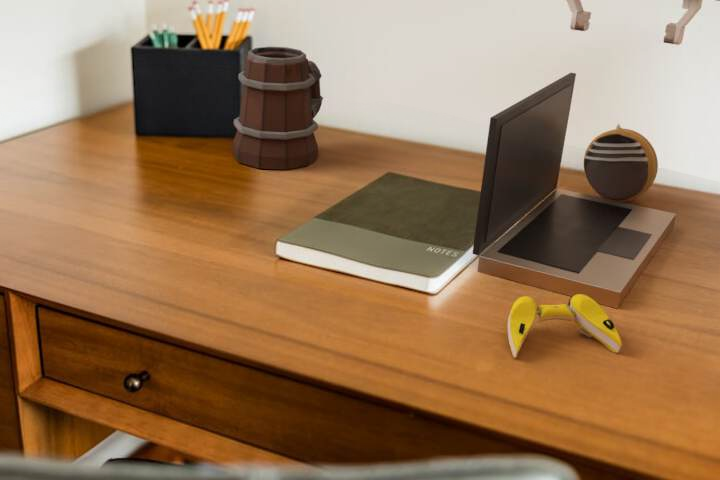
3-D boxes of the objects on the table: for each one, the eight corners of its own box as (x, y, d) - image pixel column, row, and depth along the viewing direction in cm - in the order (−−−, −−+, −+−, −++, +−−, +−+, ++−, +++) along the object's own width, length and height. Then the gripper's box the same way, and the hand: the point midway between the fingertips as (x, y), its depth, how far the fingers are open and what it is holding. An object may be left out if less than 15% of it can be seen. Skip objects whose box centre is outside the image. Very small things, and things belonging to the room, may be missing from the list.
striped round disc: (575, 193, 120) (586, 120, 116) (588, 186, 123) (599, 115, 119) (642, 211, 115) (656, 136, 111) (654, 204, 117) (668, 130, 113)
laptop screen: (577, 73, 110) (570, 72, 110) (497, 119, 89) (490, 117, 89) (557, 188, 116) (551, 186, 116) (479, 255, 95) (472, 254, 95)
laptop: (673, 227, 110) (676, 212, 109) (617, 308, 89) (620, 291, 88) (555, 201, 117) (557, 187, 116) (477, 271, 96) (479, 255, 95)
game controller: (591, 310, 86) (602, 286, 84) (614, 363, 82) (626, 339, 79) (492, 314, 85) (500, 290, 82) (509, 369, 80) (518, 345, 78)
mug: (282, 176, 121) (284, 65, 115) (216, 157, 127) (214, 51, 121) (349, 150, 133) (354, 48, 127) (286, 133, 139) (287, 36, 133)
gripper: (771, -103, 83) (738, 47, 88) (558, -118, 92) (540, 19, 97) (762, -103, 78) (727, 56, 83) (537, -119, 87) (519, 26, 92)
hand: (624, 36), depth 90 cm, fingers open, 8 cm apart
